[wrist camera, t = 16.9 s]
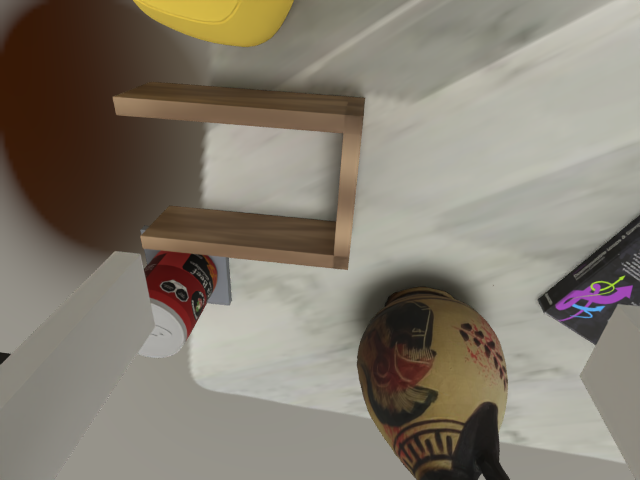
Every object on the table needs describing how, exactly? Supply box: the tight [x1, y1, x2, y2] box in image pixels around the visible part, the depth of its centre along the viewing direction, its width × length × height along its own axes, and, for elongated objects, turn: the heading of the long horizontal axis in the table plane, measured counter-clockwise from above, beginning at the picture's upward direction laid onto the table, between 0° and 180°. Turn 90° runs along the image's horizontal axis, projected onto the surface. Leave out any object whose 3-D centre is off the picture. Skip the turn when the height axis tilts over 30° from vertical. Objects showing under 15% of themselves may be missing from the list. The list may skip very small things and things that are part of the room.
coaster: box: [141, 226, 232, 305], centre depth 51 cm, size 10×10×1 cm
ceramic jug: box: [357, 285, 510, 480], centre depth 39 cm, size 17×15×30 cm
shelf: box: [113, 82, 365, 270], centre depth 41 cm, size 15×21×7 cm
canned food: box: [137, 250, 217, 358], centre depth 46 cm, size 8×8×11 cm
